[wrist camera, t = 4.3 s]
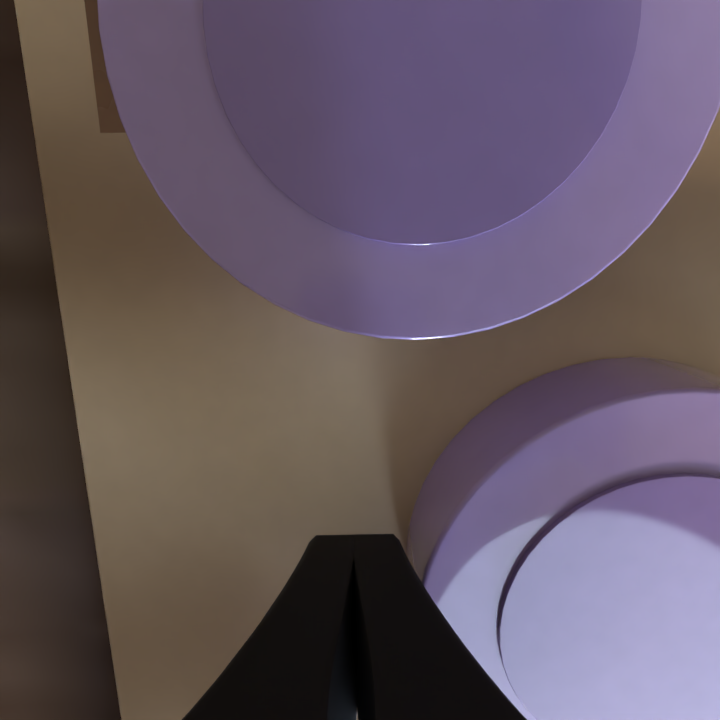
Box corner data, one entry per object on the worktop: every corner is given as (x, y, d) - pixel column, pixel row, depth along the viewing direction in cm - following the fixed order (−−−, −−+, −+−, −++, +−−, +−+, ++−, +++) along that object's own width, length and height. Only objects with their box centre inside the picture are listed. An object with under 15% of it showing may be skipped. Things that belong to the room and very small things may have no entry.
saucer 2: (767, 710, 11) (854, 813, 9) (401, 714, 10) (412, 818, 9) (847, 355, 9) (977, 389, 7) (409, 356, 9) (423, 392, 7)
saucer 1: (628, 314, 9) (703, 338, 7) (179, 320, 9) (130, 346, 7) (691, -245, 7) (815, -418, 5) (125, -241, 7) (40, -413, 5)
